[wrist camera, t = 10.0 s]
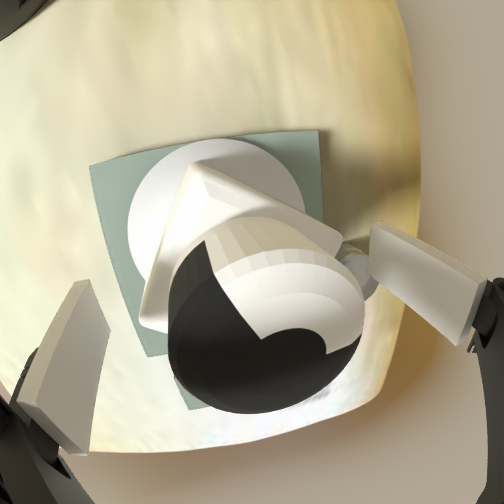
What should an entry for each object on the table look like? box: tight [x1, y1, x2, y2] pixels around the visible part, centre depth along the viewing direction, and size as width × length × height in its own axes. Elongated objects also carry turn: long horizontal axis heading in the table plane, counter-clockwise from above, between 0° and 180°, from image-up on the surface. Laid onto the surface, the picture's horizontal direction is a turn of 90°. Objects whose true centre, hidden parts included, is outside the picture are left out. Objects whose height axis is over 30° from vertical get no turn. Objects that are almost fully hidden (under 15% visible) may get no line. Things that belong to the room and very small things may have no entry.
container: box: [139, 162, 365, 414], centre depth 13 cm, size 8×8×13 cm
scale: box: [89, 131, 323, 410], centre depth 19 cm, size 18×17×10 cm
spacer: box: [335, 243, 379, 301], centre depth 26 cm, size 5×5×4 cm
